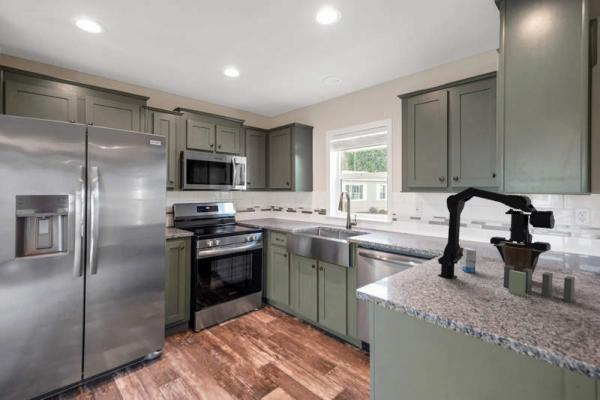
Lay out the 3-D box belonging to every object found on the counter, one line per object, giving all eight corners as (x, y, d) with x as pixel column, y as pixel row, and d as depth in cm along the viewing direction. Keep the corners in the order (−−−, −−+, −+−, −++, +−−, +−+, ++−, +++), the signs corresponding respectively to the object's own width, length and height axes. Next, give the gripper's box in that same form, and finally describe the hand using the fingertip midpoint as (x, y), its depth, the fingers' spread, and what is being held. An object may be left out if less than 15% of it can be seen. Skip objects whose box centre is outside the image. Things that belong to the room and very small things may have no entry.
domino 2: (527, 292, 116) (528, 271, 116) (521, 291, 118) (522, 269, 118) (531, 290, 119) (532, 269, 119) (525, 289, 121) (526, 268, 121)
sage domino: (523, 296, 112) (524, 273, 112) (508, 292, 116) (509, 270, 116) (525, 295, 113) (526, 272, 113) (510, 291, 117) (511, 270, 117)
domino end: (570, 303, 106) (571, 279, 105) (563, 301, 107) (564, 277, 107) (573, 300, 109) (574, 277, 108) (566, 298, 110) (567, 275, 110)
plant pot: (505, 281, 131) (507, 247, 131) (495, 273, 145) (496, 242, 145) (545, 285, 126) (546, 250, 126) (531, 276, 140) (532, 244, 140)
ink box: (476, 273, 145) (476, 250, 145) (465, 272, 146) (466, 249, 146) (469, 268, 153) (470, 247, 153) (459, 268, 154) (460, 246, 154)
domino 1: (508, 288, 121) (509, 267, 121) (503, 286, 123) (504, 266, 123) (513, 286, 124) (513, 265, 124) (507, 285, 126) (508, 265, 126)
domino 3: (548, 297, 111) (549, 274, 111) (541, 296, 113) (542, 273, 112) (551, 295, 114) (552, 273, 114) (545, 293, 115) (546, 271, 115)
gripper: (555, 227, 111) (553, 267, 112) (500, 223, 126) (499, 257, 127) (547, 229, 105) (545, 271, 105) (490, 224, 120) (488, 260, 120)
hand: (517, 264), depth 114 cm, fingers open, 9 cm apart
